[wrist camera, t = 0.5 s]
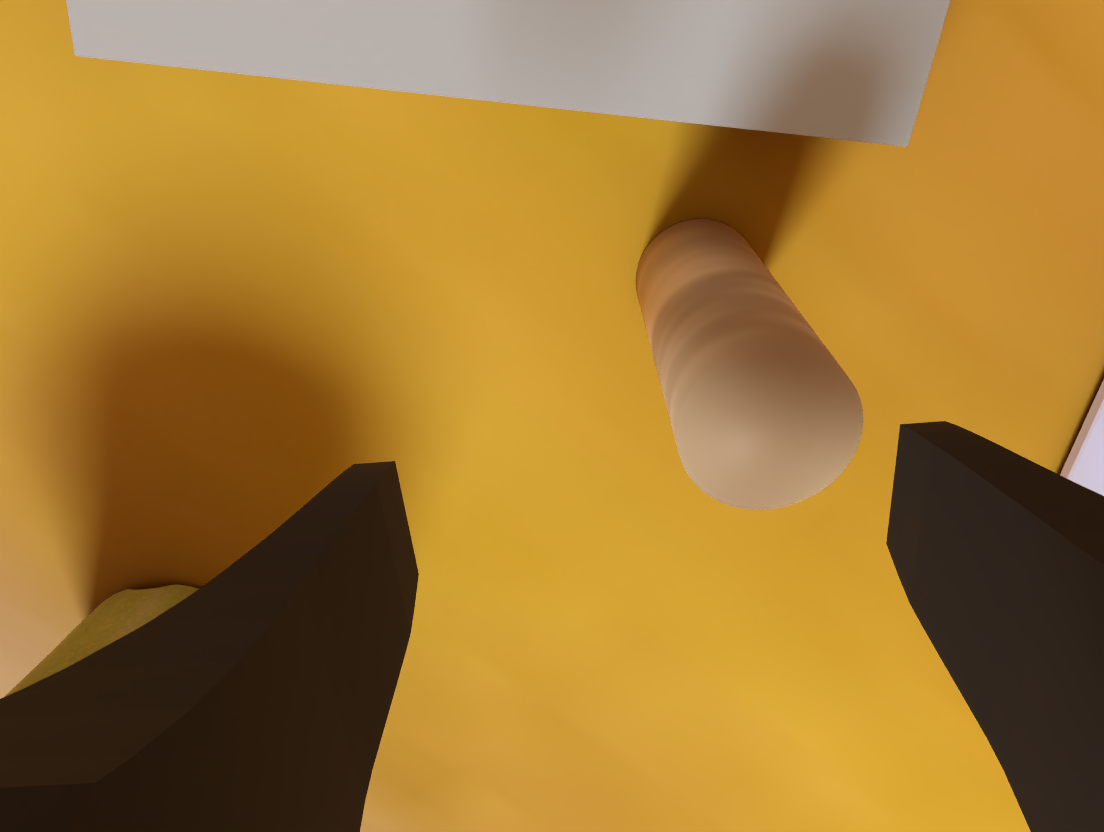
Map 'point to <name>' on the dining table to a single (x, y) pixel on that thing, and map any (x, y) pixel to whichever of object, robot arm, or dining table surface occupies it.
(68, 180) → the dining table surface
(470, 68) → the hole board
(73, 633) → the plant pot
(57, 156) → the dining table surface
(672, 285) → the dowel
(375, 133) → the dining table surface
